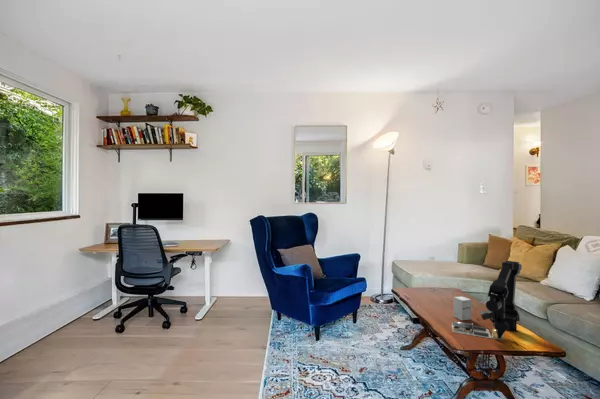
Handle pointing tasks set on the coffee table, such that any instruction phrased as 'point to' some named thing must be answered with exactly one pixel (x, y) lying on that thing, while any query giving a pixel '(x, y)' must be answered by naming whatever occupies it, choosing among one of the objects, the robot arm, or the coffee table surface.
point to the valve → (494, 335)
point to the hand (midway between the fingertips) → (497, 336)
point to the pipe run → (470, 329)
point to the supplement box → (462, 308)
